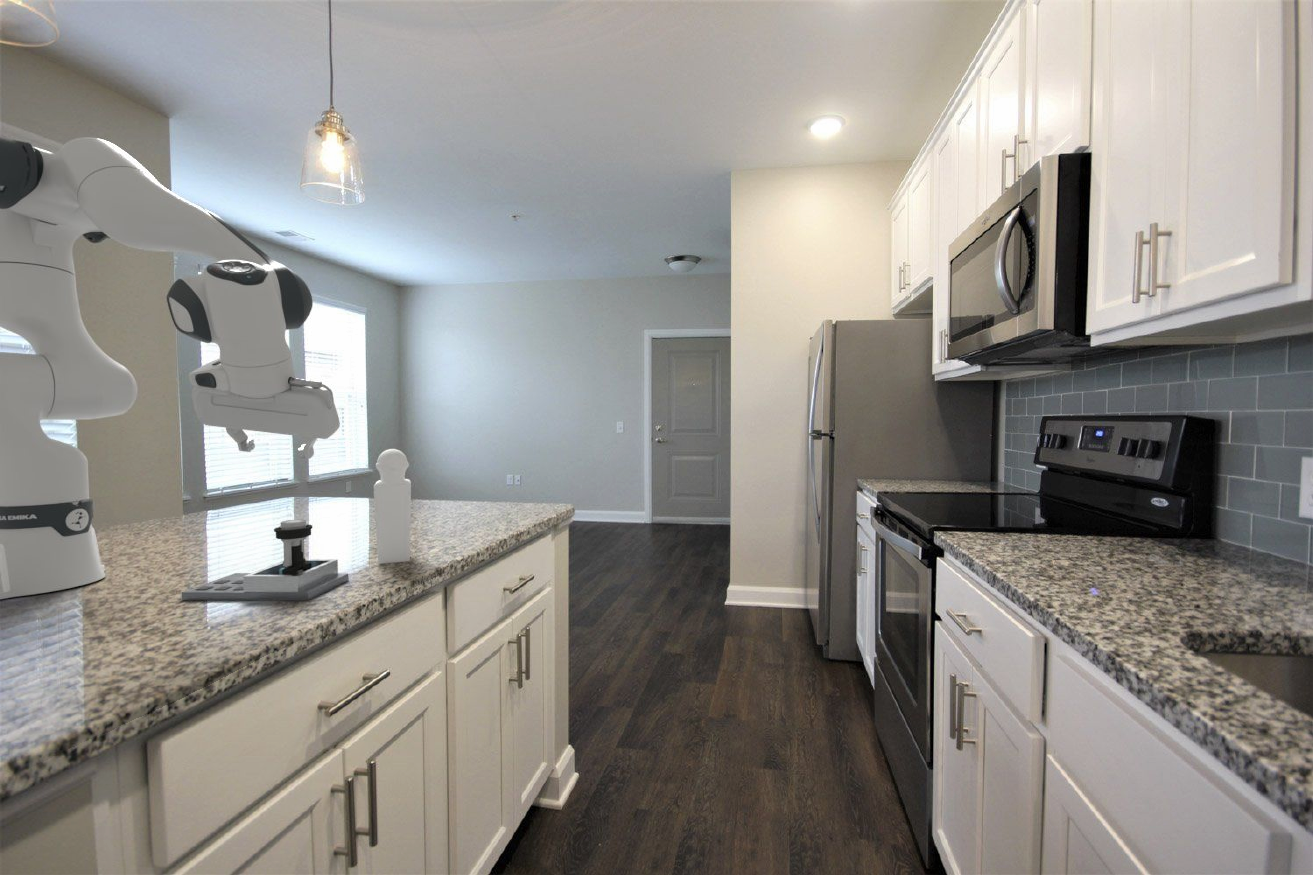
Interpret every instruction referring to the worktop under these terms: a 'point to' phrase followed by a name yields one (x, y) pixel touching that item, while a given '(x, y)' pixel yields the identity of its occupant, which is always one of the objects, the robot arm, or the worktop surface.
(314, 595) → the organizer
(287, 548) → the push button
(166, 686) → the worktop surface
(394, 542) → the white bottle
